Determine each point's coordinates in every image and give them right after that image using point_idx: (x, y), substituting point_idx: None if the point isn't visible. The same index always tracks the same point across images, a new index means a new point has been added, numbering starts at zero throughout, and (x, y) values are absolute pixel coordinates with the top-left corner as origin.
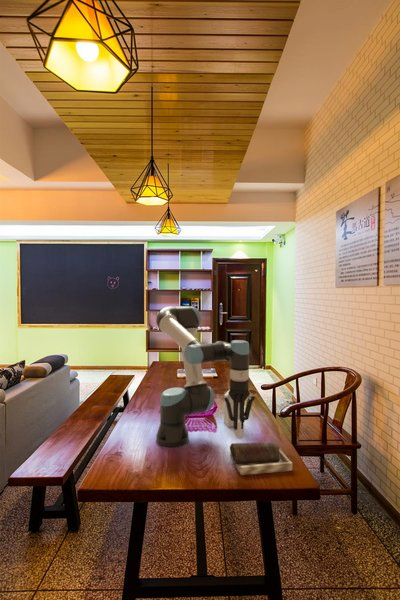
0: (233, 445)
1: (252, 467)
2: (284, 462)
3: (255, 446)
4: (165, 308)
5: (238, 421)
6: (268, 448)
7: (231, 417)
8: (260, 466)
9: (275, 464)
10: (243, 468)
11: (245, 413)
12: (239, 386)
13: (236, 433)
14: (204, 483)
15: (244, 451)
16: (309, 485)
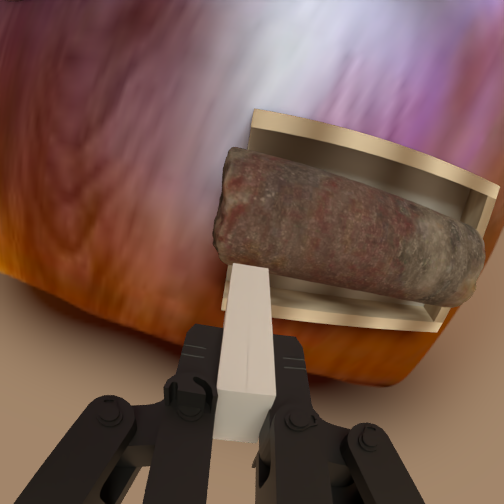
0: (218, 235)
1: (276, 314)
2: (419, 323)
3: (362, 279)
4: None
5: (230, 427)
6: (415, 299)
7: (109, 475)
8: (314, 321)
9: (379, 328)
10: None
11: (371, 491)
12: None
13: (226, 306)
14: (77, 285)
15: (277, 274)
16: (398, 378)
